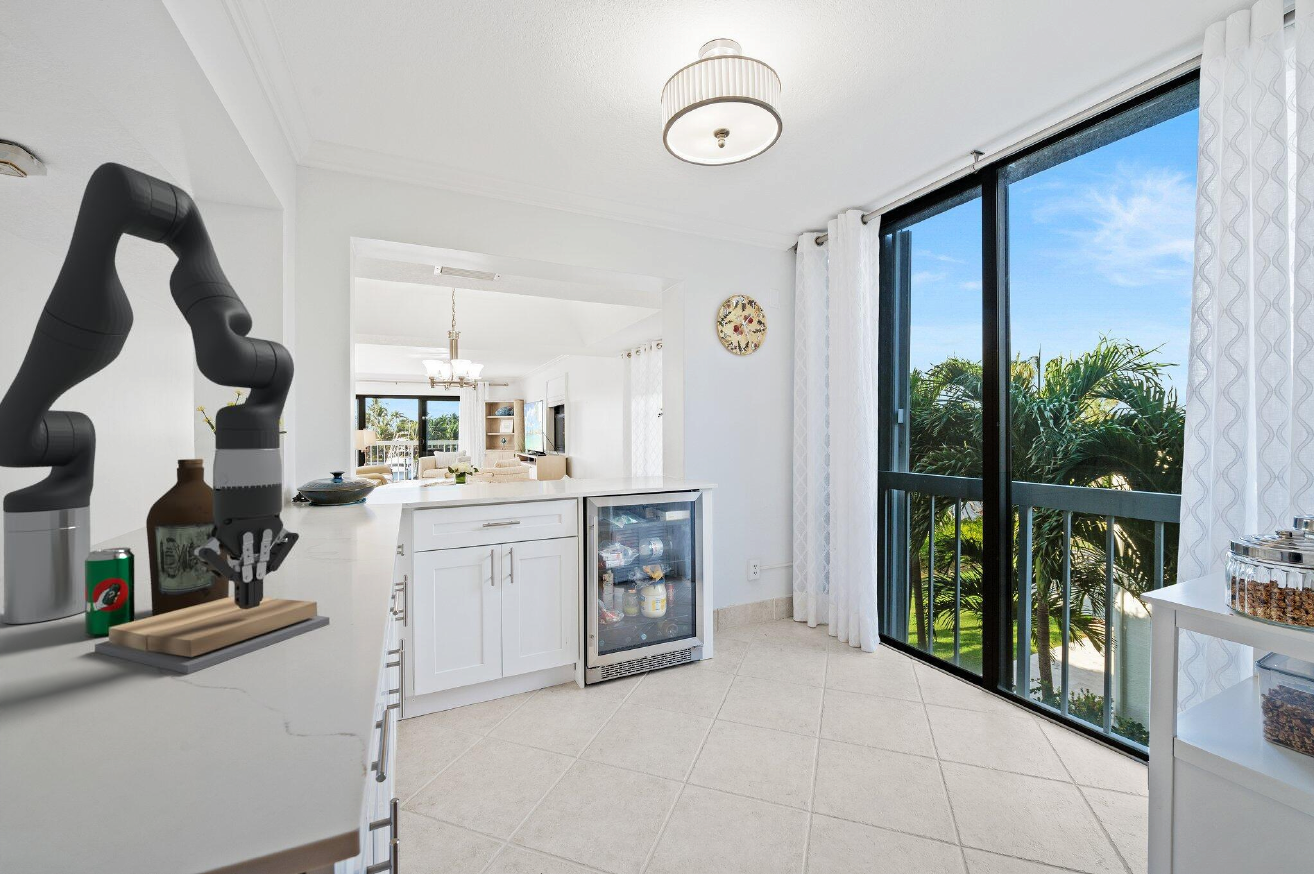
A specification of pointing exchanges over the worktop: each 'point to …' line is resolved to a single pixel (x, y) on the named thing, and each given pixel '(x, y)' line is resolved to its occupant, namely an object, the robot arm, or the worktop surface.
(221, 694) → the worktop surface
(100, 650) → the gray flat board
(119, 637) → the oak plank
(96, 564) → the soda can
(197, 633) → the brown wooden board
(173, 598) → the brown bottle
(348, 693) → the worktop surface
